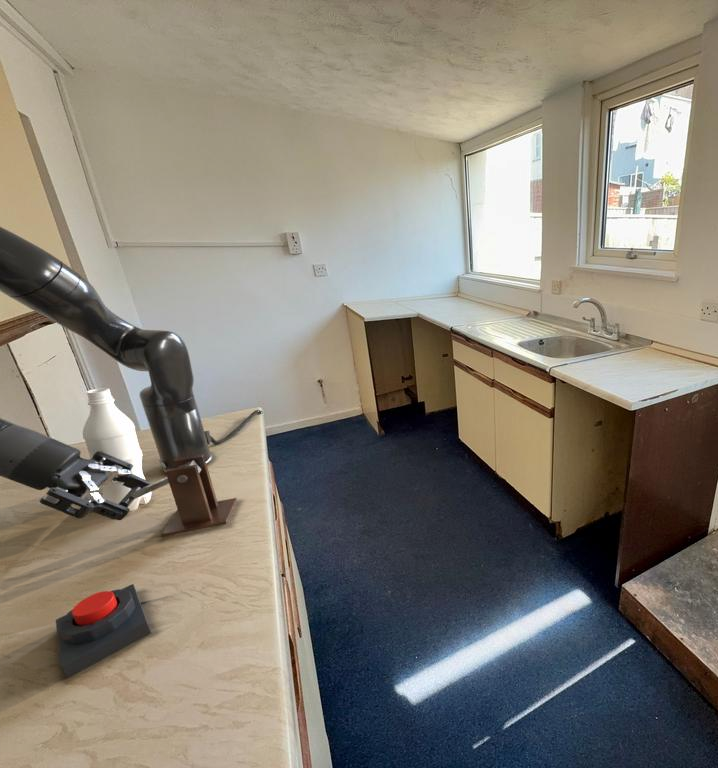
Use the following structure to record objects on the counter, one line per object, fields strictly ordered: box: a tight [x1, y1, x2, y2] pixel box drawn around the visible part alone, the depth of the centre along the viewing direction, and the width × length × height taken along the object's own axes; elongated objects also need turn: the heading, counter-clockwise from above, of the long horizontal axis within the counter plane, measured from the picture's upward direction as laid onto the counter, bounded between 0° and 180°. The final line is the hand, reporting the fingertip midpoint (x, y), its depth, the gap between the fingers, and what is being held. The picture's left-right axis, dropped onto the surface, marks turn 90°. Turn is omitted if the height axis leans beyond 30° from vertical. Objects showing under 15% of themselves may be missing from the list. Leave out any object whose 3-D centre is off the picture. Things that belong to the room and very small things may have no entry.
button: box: [71, 590, 117, 626], centre depth 53 cm, size 4×4×2 cm
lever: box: [119, 460, 202, 508], centre depth 73 cm, size 12×5×2 cm, turn 111°
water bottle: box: [82, 387, 152, 513], centre depth 77 cm, size 7×7×25 cm
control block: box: [55, 583, 152, 679], centre depth 54 cm, size 10×8×4 cm
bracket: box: [160, 455, 238, 538], centre depth 75 cm, size 10×8×13 cm
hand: (137, 501), depth 72 cm, fingers open, 8 cm apart
